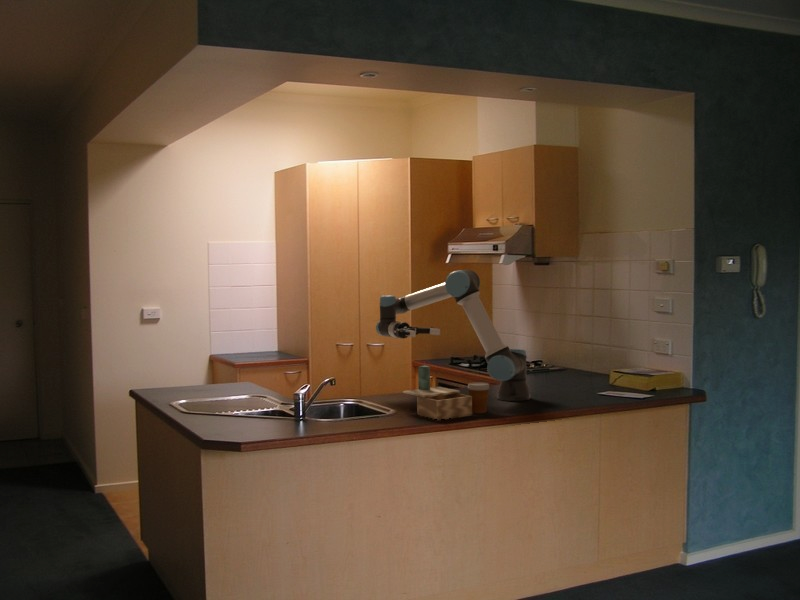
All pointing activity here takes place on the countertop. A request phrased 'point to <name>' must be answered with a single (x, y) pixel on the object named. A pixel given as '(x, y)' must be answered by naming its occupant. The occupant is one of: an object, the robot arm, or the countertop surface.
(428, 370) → the lid
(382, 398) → the countertop surface
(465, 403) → the carton
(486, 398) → the disposable coffee cup
